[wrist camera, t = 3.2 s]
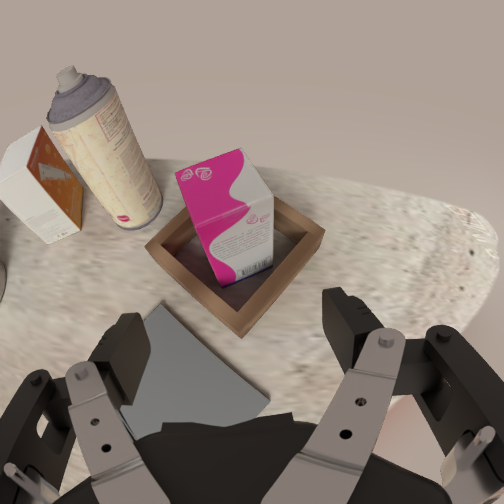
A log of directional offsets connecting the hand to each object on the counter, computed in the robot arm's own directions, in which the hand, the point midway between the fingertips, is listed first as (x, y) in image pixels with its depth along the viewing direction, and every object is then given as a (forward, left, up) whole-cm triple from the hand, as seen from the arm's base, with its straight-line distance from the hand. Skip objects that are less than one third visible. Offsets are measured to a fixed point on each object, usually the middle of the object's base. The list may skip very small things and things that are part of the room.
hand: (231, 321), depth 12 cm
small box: (-31, -4, -15) cm, 34 cm away
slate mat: (-3, -8, -15) cm, 17 cm away
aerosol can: (-22, +4, -15) cm, 27 cm away
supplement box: (-8, +7, -15) cm, 18 cm away
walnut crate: (-8, +7, -15) cm, 18 cm away
